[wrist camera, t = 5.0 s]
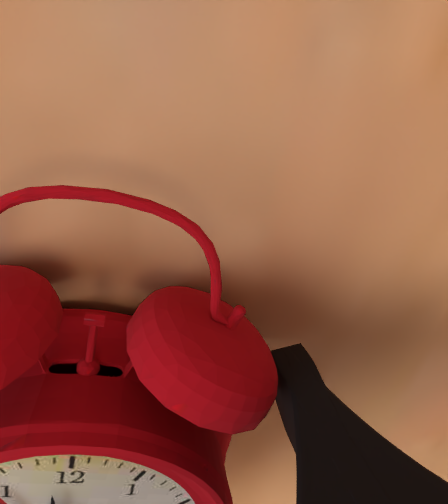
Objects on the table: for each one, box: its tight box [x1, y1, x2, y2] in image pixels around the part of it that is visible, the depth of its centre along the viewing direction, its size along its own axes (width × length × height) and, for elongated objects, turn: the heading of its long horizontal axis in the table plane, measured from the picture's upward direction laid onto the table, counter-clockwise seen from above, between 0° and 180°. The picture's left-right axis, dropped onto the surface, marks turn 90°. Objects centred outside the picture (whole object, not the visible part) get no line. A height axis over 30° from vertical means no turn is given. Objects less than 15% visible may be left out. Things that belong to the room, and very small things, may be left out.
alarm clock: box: [0, 185, 278, 504], centre depth 10 cm, size 10×6×15 cm
